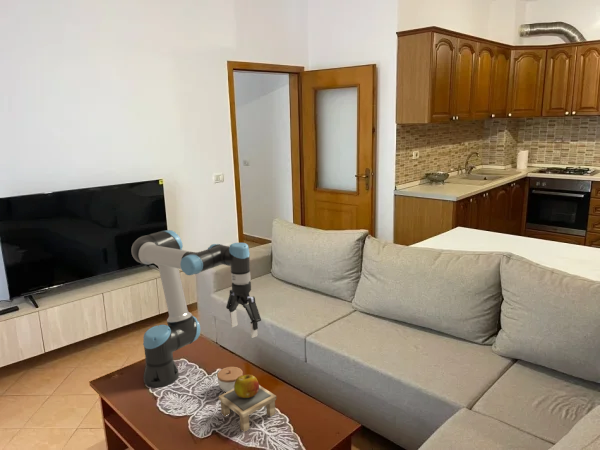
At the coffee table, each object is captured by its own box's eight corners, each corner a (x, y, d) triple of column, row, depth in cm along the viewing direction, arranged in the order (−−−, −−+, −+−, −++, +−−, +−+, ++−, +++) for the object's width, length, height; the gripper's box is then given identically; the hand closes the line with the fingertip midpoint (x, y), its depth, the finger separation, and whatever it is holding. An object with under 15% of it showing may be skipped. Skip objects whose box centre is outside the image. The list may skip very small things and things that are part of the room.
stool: (219, 414, 180) (218, 395, 178) (252, 397, 191) (251, 379, 189) (244, 433, 169) (242, 413, 167) (277, 414, 180) (276, 395, 178)
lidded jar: (238, 397, 191) (237, 377, 189) (214, 395, 193) (213, 375, 191) (246, 383, 201) (245, 364, 199) (223, 381, 203) (222, 362, 201)
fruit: (256, 386, 184) (255, 368, 182) (262, 399, 175) (261, 380, 173) (232, 391, 181) (231, 373, 179) (237, 404, 172) (235, 385, 171)
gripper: (215, 277, 188) (219, 324, 193) (252, 292, 170) (255, 344, 175) (230, 272, 193) (233, 319, 198) (268, 287, 175) (270, 338, 180)
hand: (244, 331), depth 187 cm, fingers open, 13 cm apart
